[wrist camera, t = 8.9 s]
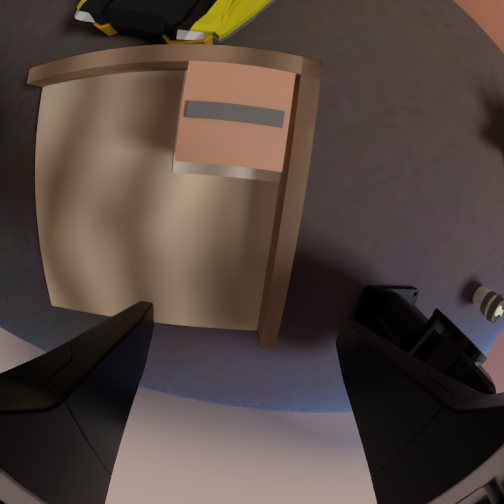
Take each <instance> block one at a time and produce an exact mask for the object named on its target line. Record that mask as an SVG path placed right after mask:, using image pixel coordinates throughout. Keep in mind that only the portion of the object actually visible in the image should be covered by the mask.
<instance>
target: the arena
mask: <svg viewBox="0 0 504 504" xmlns="http://www.w3.org/2000/svg"><path fill="white" fill-rule="evenodd" d="M189 61H209V62H223V63H233V64H242V65H250V66H258V67H264V68H271V69H276V70H282V71H287V72H292V73H296V75H295V83H294V91H293V98H292V106H291V113H290V120H289V127H288V134H287V141H286V148H285V155H284V162H283V169H282V172H277V171H270V170H263V169H255V168H247V167H238V166H229V165H218V164H207V163H195V162H180V161H175V154H176V145H177V136H178V128H179V120H180V113H181V106H182V99H183V93H184V86H185V81H186V75H187V69H188V64H189ZM321 68H322V62H321V61H318V60H313V59H309V58H305V57H300V56H296V55H291V54H286V53H280V52H275V51H268V50H262V49H254V48H246V47H237V46H225V45H209V44H161V45H145V46H134V47H124V48H117V49H110V50H103V51H97V52H92V53H87V54H82V55H77V56H73V57H69V58H65V59H61V60H57V61H53V62H50V63H46V64H43V65H40V66H37V67H34V68H31V69H30V71H29V76H28V80H27V84H31V85H36V86H40V87H43V89H42V95H41V101H40V108H39V116H38V125H37V137H36V155H35V194H36V212H37V223H38V233H39V241H40V248H41V255H42V261H43V267H44V272H45V277H46V282H47V287H48V291H49V296H50V300H51V304H52V306H57V307H62V308H67V309H72V310H77V311H83V312H88V313H94V314H100V315H106V316H114V315H116V314H118V313H119V312H121V311H123V310H125V309H127V308H128V307H130V306H132V305H134V304H136V303H137V302H139V301H148V302H152V303H153V306H154V322H156V323H164V324H174V325H184V326H195V327H207V328H221V329H238V330H257V336H258V342H259V347H260V348H275V346H276V342H277V338H278V333H279V329H280V324H281V319H282V315H283V310H284V305H285V301H286V296H287V291H288V286H289V281H290V276H291V271H292V266H293V260H294V255H295V250H296V244H297V239H298V233H299V227H300V222H301V216H302V210H303V204H304V198H305V192H306V185H307V179H308V172H309V165H310V159H311V152H312V144H313V137H314V129H315V122H316V114H317V105H318V97H319V88H320V78H321Z"/></svg>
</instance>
